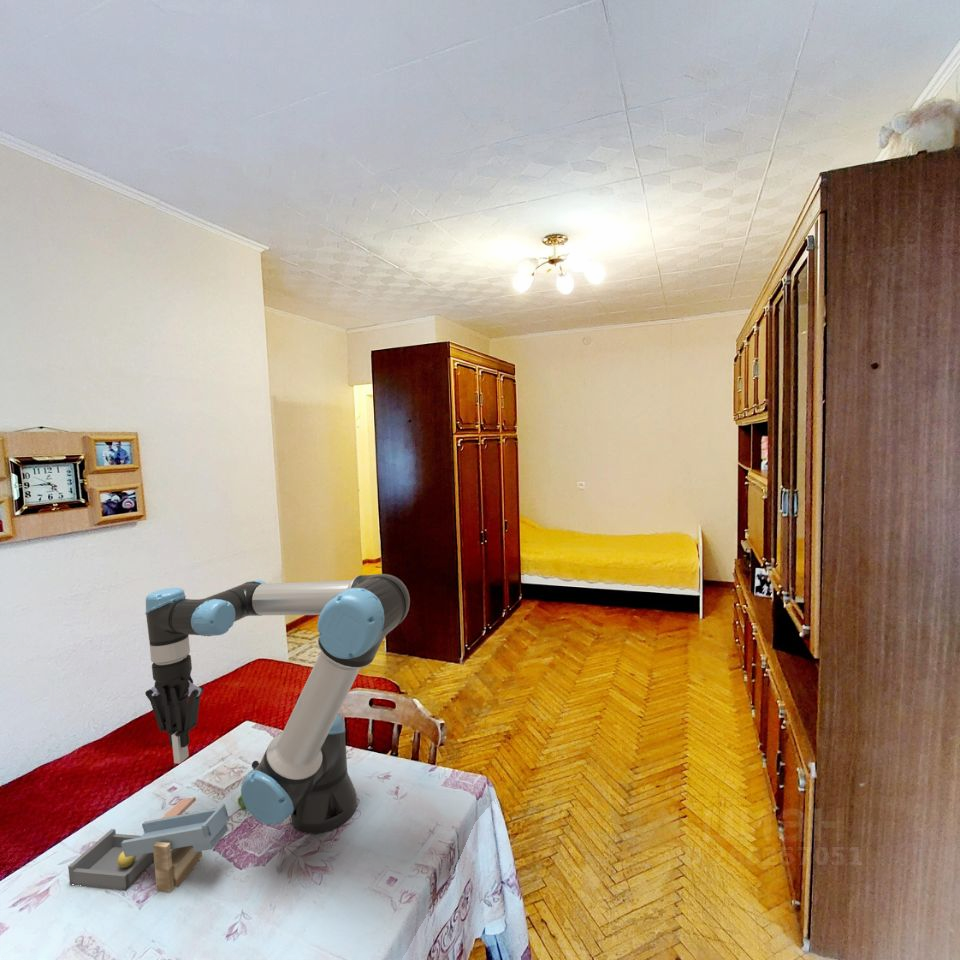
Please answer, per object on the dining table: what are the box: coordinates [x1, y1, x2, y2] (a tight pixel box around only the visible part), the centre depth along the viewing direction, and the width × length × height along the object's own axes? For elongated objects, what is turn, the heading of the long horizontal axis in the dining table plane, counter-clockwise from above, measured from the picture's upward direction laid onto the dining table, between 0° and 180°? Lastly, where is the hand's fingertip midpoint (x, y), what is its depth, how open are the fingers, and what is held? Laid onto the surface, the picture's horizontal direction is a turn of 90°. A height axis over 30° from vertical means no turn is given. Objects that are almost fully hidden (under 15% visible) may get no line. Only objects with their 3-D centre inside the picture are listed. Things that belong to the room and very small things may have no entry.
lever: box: [121, 796, 230, 857], centre depth 107 cm, size 20×16×5 cm
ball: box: [118, 852, 136, 868], centre depth 105 cm, size 3×3×3 cm
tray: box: [67, 828, 154, 892], centre depth 105 cm, size 13×10×4 cm
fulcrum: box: [153, 812, 203, 893], centre depth 103 cm, size 4×9×10 cm, turn 171°
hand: (181, 759), depth 113 cm, fingers closed
